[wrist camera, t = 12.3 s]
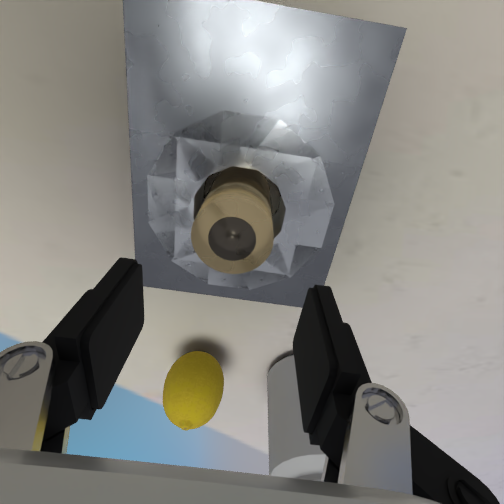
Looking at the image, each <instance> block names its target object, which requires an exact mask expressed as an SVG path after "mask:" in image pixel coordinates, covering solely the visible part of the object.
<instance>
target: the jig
mask: <svg viewBox="0 0 504 504" xmlns="http://www.w3.org/2000/svg"><path fill="white" fill-rule="evenodd" d="M123 14H124V35H125V55H126V76H127V97H128V117H129V138H130V159H131V179H132V200H133V220H134V241H135V260H137V262H138V264H141V265H142V271H143V286H146V287H154V288H161V289H168V290H176V291H183V292H191V293H198V294H206V295H213V296H220V297H228V298H235V299H243V300H250V301H258V302H265V303H272V304H280V305H287V306H295V307H302V308H303V305H304V302H305V298H306V295H307V291H308V289H309V288H313V287H314V285H323V286H324V284H325V281H326V278H327V275H328V271H329V268H330V265H331V262H332V259H333V256H334V253H335V250H336V247H337V244H338V240H339V237H340V234H341V231H342V228H343V225H344V222H345V219H346V216H347V212H348V209H349V206H350V203H351V200H352V197H353V194H354V191H355V188H356V185H357V181H358V178H359V175H360V172H361V169H362V166H363V163H364V160H365V157H366V154H367V150H368V147H369V144H370V141H371V138H372V135H373V132H374V129H375V126H376V122H377V119H378V116H379V113H380V110H381V107H382V104H383V101H384V98H385V95H386V91H387V88H388V85H389V82H390V79H391V76H392V73H393V70H394V67H395V63H396V60H397V57H398V54H399V51H400V48H401V45H402V42H403V39H404V36H405V32H406V29H407V28H403V27H397V26H392V25H386V24H381V23H375V22H370V21H364V20H359V19H353V18H348V17H342V16H337V15H332V14H326V13H321V12H315V11H310V10H304V9H299V8H293V7H288V6H282V5H277V4H271V3H266V2H260V1H255V0H123ZM231 166H235V167H241V168H248V169H254V170H259V171H260V172H261V173H262V174H264V175H265V176H266V177H267V178H268V179H270V180H271V181H272V182H273V183H275V184H276V185H277V186H278V188H279V190H280V193H281V199H280V204H279V209H278V211H277V212H276V213H275V214H274V216H273V217H272V222H273V233H274V242H273V247H272V250H271V253H270V255H269V256H268V258H267V259H266V260H265V262H263V263H262V264H261V265H260V266H259V267H257V268H256V269H254V270H252V271H249V272H246V273H241V274H227V273H222V272H219V271H216V270H214V269H212V268H211V267H209V266H207V265H206V264H205V263H204V262H203V261H202V260H201V259H200V258H199V257H198V255H197V254H196V252H195V250H194V248H193V245H192V241H191V229H192V225H193V222H194V220H195V218H196V216H197V214H198V212H199V210H200V208H201V206H202V204H203V202H204V199H203V197H204V183H205V180H206V178H207V177H208V176H209V175H211V174H214V173H216V172H219V171H221V170H224V169H226V168H229V167H231Z"/></svg>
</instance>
